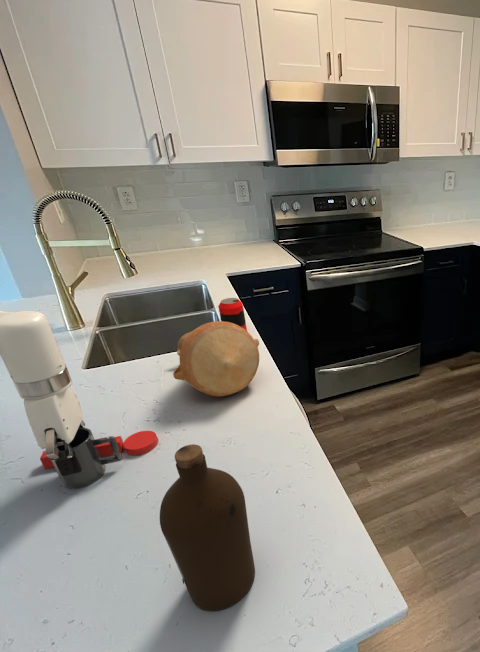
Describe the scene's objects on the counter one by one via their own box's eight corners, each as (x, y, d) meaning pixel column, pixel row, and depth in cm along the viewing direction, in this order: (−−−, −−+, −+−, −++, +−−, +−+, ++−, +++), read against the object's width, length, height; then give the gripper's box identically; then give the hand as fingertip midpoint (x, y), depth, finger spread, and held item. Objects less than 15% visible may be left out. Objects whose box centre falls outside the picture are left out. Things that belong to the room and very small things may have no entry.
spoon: (41, 476, 83) (36, 465, 82) (51, 455, 88) (46, 445, 87) (156, 451, 89) (153, 440, 88) (159, 433, 95) (156, 423, 93)
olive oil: (261, 544, 69) (237, 421, 57) (257, 608, 60) (227, 476, 48) (193, 555, 67) (154, 431, 56) (177, 623, 58) (127, 490, 46)
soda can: (243, 338, 139) (237, 305, 133) (220, 339, 139) (214, 305, 133) (250, 329, 145) (244, 296, 140) (228, 329, 145) (222, 296, 140)
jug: (172, 380, 92) (137, 349, 113) (236, 418, 105) (193, 384, 126) (229, 310, 97) (185, 293, 118) (284, 354, 110) (235, 332, 131)
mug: (58, 493, 79) (40, 456, 75) (68, 467, 85) (52, 432, 81) (122, 478, 82) (108, 442, 78) (128, 455, 88) (115, 420, 84)
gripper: (35, 362, 79) (67, 436, 87) (-4, 413, 65) (40, 496, 73) (81, 355, 82) (108, 428, 90) (54, 403, 67) (89, 485, 75)
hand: (77, 458), depth 81 cm, fingers closed on mug, 7 cm apart
